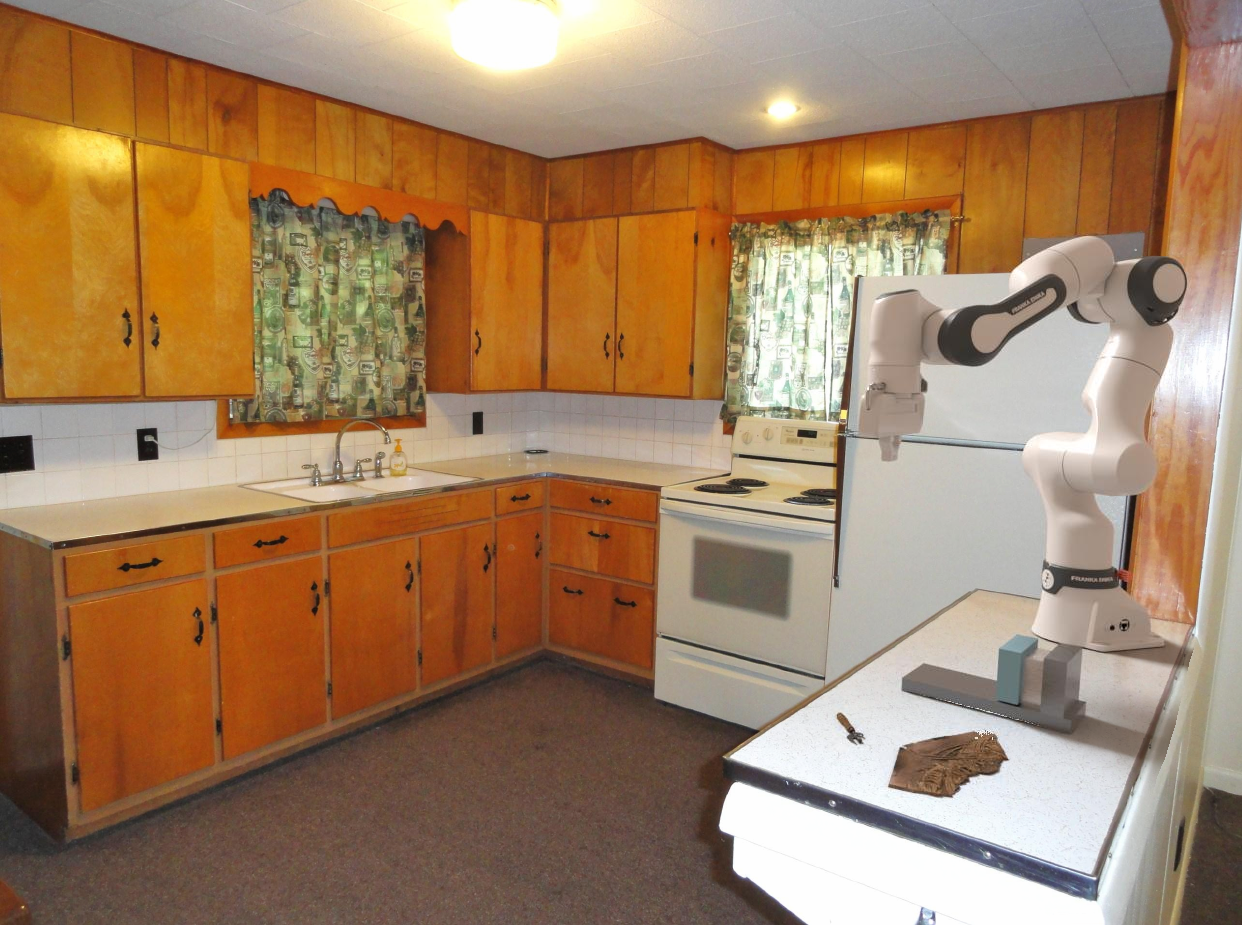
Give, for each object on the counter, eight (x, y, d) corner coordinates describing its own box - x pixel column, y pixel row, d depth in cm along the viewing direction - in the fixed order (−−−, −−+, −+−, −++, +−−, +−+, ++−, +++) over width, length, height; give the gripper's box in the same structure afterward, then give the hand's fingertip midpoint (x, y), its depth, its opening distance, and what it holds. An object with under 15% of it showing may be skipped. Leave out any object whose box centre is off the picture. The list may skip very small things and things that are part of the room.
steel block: (1020, 703, 121) (1023, 657, 120) (1031, 692, 126) (1035, 647, 125) (1042, 709, 119) (1046, 662, 118) (1053, 697, 124) (1057, 651, 123)
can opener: (835, 719, 120) (836, 711, 120) (852, 719, 120) (852, 712, 120) (850, 747, 111) (850, 739, 111) (868, 748, 111) (868, 739, 111)
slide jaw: (995, 699, 122) (999, 648, 121) (1013, 682, 129) (1017, 634, 128) (1017, 704, 120) (1021, 653, 119) (1034, 687, 127) (1038, 638, 126)
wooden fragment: (933, 810, 96) (933, 801, 95) (853, 773, 104) (853, 765, 104) (1039, 750, 112) (1039, 742, 111) (961, 722, 120) (962, 715, 120)
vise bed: (901, 689, 131) (904, 628, 130) (923, 674, 138) (926, 616, 137) (1070, 734, 116) (1075, 664, 115) (1085, 715, 122) (1090, 649, 121)
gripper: (886, 383, 137) (882, 466, 139) (932, 383, 152) (928, 458, 154) (850, 382, 141) (846, 463, 143) (898, 382, 157) (894, 455, 158)
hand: (889, 460), depth 148 cm, fingers closed
